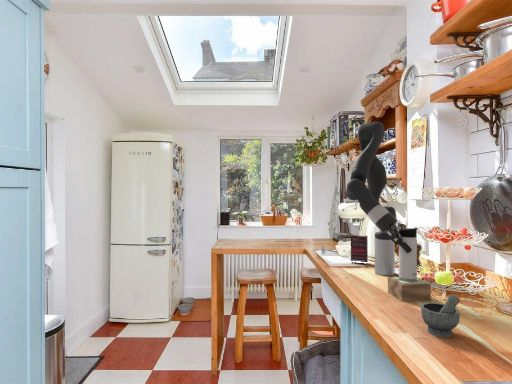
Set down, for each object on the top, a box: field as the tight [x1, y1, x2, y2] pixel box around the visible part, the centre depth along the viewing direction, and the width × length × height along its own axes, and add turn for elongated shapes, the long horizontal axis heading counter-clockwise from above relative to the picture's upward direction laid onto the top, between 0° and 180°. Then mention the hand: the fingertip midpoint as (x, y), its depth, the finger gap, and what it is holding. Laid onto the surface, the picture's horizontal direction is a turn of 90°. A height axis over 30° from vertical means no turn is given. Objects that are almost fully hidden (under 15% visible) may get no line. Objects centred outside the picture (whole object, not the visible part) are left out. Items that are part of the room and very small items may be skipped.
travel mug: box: [398, 227, 419, 282], centre depth 127 cm, size 6×7×20 cm
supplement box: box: [350, 234, 369, 262], centre depth 189 cm, size 9×5×16 cm, turn 58°
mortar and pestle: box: [420, 294, 461, 338], centre depth 93 cm, size 11×9×12 cm
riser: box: [387, 276, 432, 302], centre depth 127 cm, size 11×11×6 cm
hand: (412, 250), depth 126 cm, fingers open, 6 cm apart
